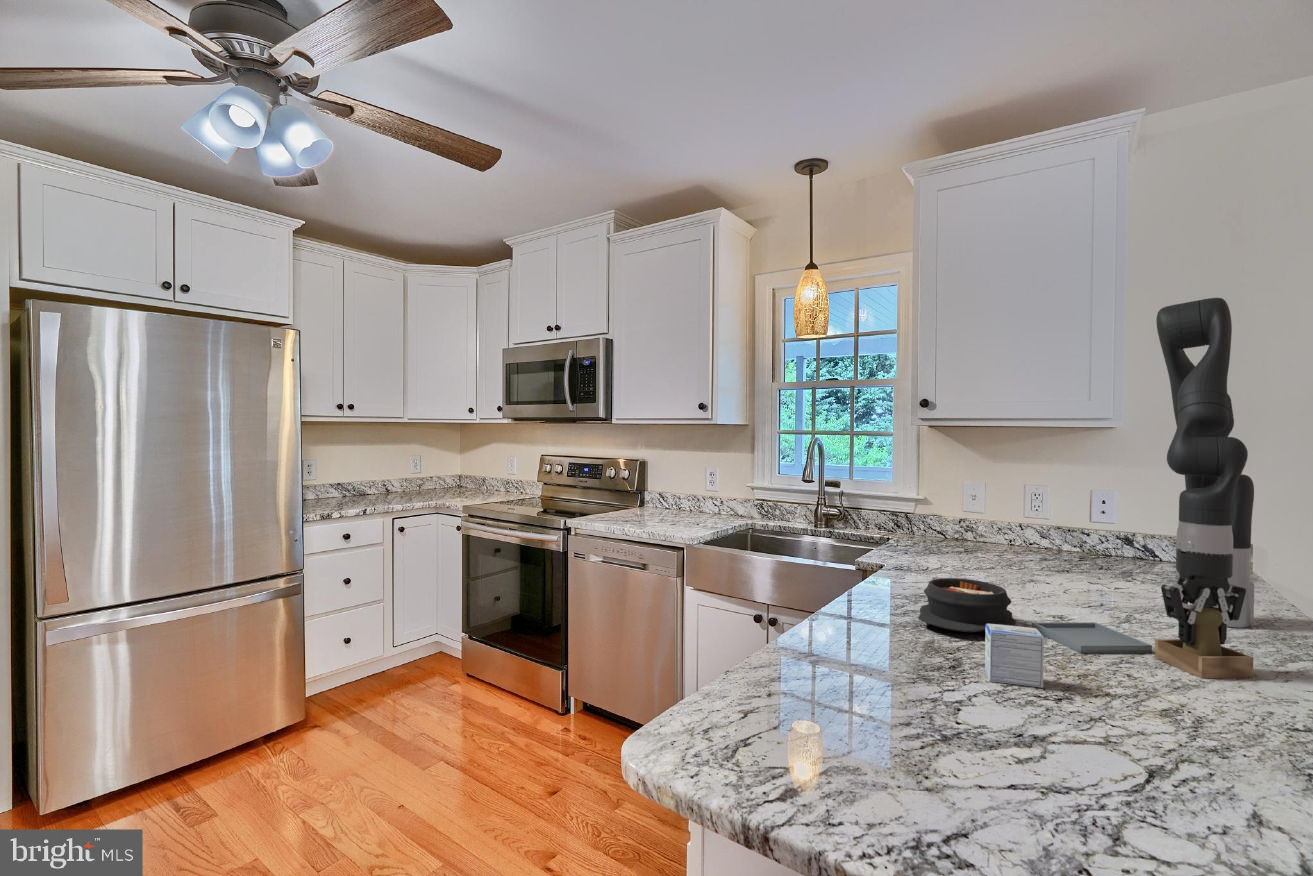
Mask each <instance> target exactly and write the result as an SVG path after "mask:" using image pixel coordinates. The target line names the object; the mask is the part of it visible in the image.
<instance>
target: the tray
mask: <svg viewBox="0 0 1313 876" xmlns="http://www.w3.org/2000/svg"><path fill="white" fill-rule="evenodd" d="M1031 628H1036V629H1037V630H1038V631H1039V632H1040V633H1041V634H1042V636H1043V637H1046V638H1048V639H1050V640H1052V641H1054V642H1057V643H1058V644H1061V645H1062V646H1065V647H1066V648H1068V649H1070V650H1072V651H1075V652H1077V653H1079V654H1089V655H1090V654H1091V655H1092V654H1096V655H1097V654H1153V645H1152V644H1149V643H1147V642H1145V641H1143V640H1140V639H1137V638H1136V637H1132V636H1130V635H1127V634H1124V633H1122V632H1120V631H1118V630H1115V629H1113V628H1110V627H1108V626H1106V625H1103V624H1100V623H1098V622H1093V621H1092V622H1091V621H1090V622H1089V621H1088V622H1086V621H1085V622H1084V621H1083V622H1081V621H1080V622H1079V621H1078V622H1074V621H1073V622H1072V621H1071V622H1070V621H1069V622H1064V621H1063V622H1062V621H1061V622H1059V621H1058V622H1055V621H1054V622H1051V621H1049V622H1048V621H1047V622H1046V621H1043V622H1042V621H1041V622H1039V621H1038V622H1037V621H1036V622H1031Z"/></svg>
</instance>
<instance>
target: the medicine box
mask: <svg viewBox="0 0 1313 876" xmlns="http://www.w3.org/2000/svg"><path fill="white" fill-rule="evenodd" d="M1044 641H1045V636H1044V635H1042V634H1041V633H1040V632H1039V631H1038V630H1037V629H1036V628H1032V627H1029V626H1027V627H1026V626H1018V625H1017V626H1015V625H1014V626H1009V625H998V624H986V629H985V638H984V644H985V645H984V671H985V674H986V677H987V679H988V681H989V682H991V683H992V682H994V683H1000V684H1002V683H1004V684H1008V685H1017V686H1018V685H1019V686H1027V687H1034V688H1044V660H1045V659H1044V658H1045V657H1044V656H1045V653H1044V652H1045V649H1044V647H1045V642H1044Z"/></svg>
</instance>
